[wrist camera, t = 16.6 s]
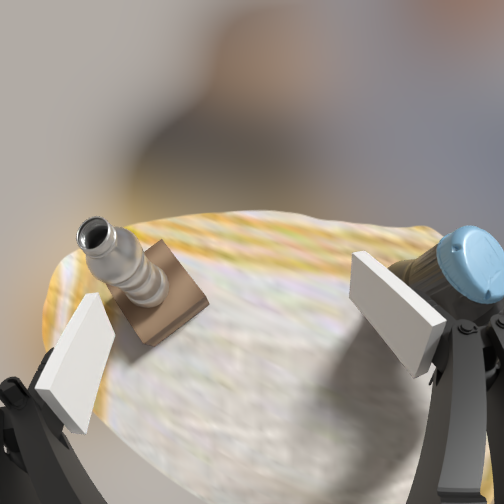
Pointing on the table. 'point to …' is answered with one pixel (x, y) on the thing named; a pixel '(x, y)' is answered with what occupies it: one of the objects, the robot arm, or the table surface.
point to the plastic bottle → (121, 262)
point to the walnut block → (172, 308)
